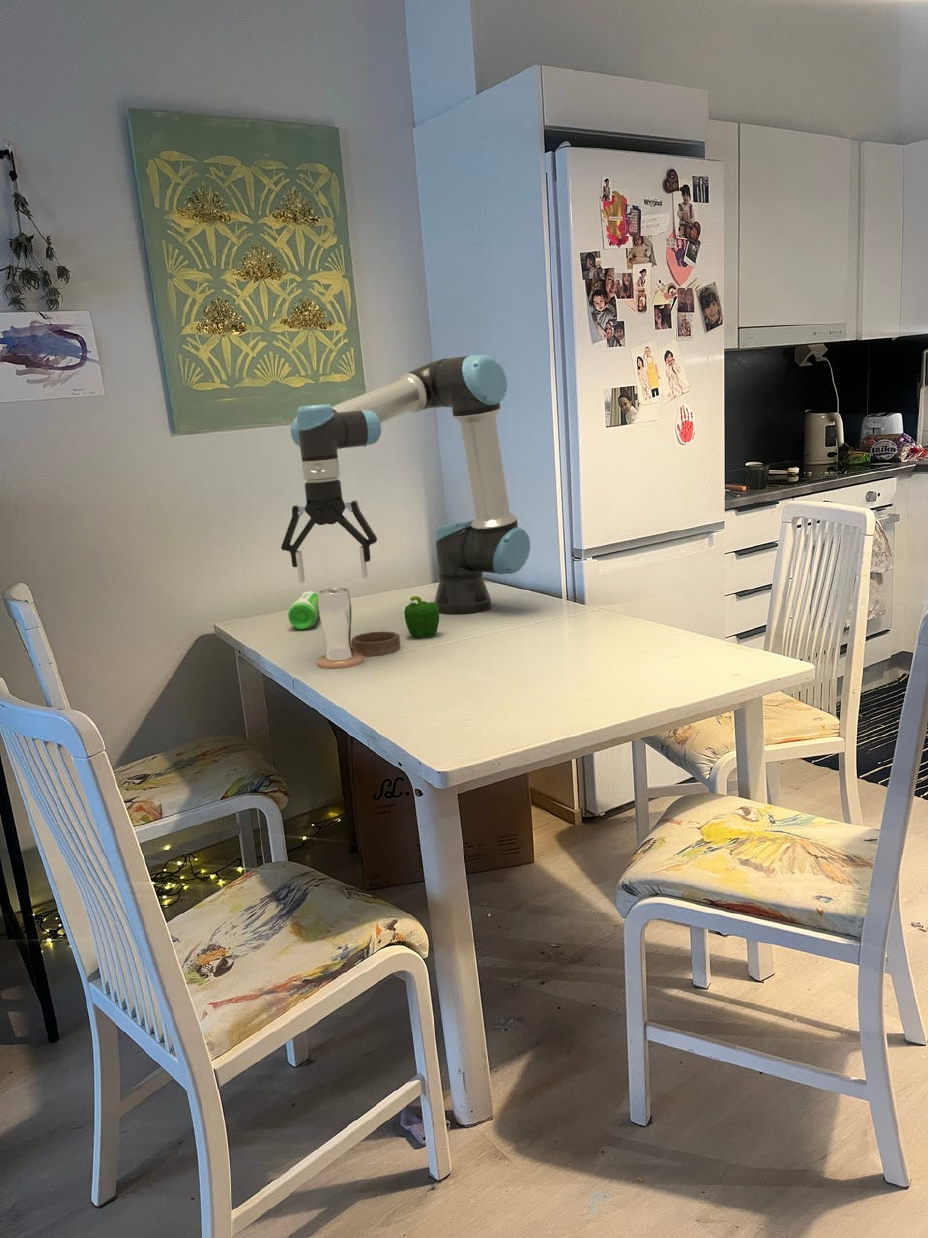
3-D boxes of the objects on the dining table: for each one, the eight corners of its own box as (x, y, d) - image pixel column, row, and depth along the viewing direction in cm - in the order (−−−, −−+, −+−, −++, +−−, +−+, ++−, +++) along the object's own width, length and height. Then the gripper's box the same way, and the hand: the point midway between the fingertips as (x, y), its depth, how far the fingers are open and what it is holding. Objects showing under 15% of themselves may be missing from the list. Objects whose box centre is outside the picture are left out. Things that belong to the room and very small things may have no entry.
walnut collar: (401, 642, 223) (400, 630, 222) (397, 654, 212) (396, 641, 212) (356, 645, 223) (355, 633, 223) (350, 657, 213) (348, 644, 212)
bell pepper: (435, 630, 233) (432, 590, 231) (444, 637, 226) (441, 595, 223) (401, 634, 231) (398, 594, 229) (410, 642, 223) (407, 600, 221)
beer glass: (362, 656, 209) (356, 588, 206) (337, 663, 204) (331, 594, 201) (341, 652, 214) (335, 586, 211) (317, 659, 209) (310, 592, 206)
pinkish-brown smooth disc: (365, 655, 214) (365, 650, 214) (360, 667, 204) (359, 662, 204) (321, 657, 214) (320, 653, 214) (313, 669, 205) (313, 665, 204)
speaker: (317, 630, 242) (314, 601, 241) (288, 632, 242) (285, 603, 241) (326, 615, 260) (323, 588, 258) (299, 617, 260) (296, 590, 258)
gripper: (259, 486, 197) (272, 587, 202) (379, 476, 197) (389, 578, 201) (267, 483, 205) (279, 580, 210) (383, 473, 204) (392, 571, 209)
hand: (333, 579), depth 206 cm, fingers open, 13 cm apart
